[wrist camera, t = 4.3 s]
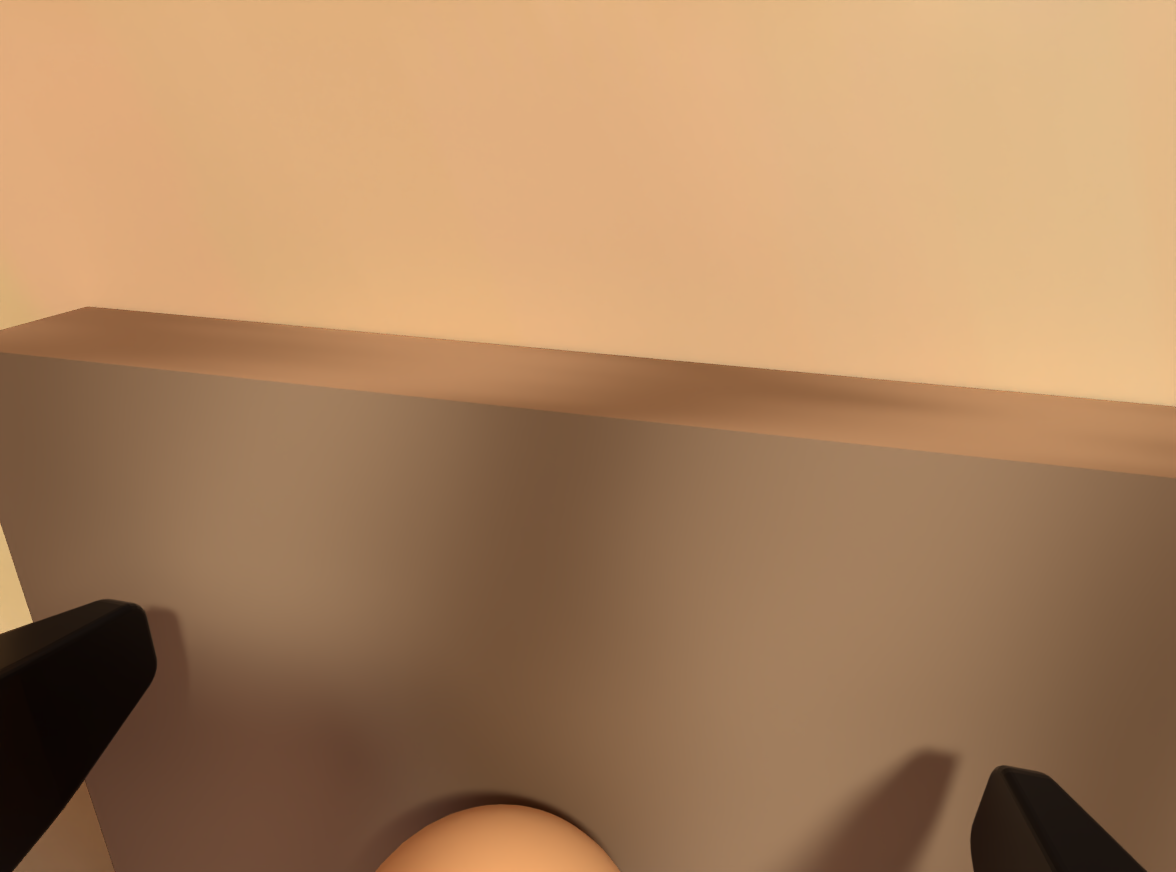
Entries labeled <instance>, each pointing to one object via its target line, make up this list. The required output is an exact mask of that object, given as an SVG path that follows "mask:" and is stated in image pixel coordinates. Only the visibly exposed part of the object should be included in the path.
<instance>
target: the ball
mask: <svg viewBox="0 0 1176 872" xmlns="http://www.w3.org/2000/svg"><path fill="white" fill-rule="evenodd" d="M375 872H621V871H620V870H619V869H618V867H617V866H616V865H615V863H614V862H613V861H612V860H611V858H610V857H609V856H608V854H607V853H606V852H605V851H604V850H603V849H602V848H601V847H600V846H599V845H598V844H597V843H596V842H595V841H594V840H592V839H591V838H590V837H589V836H588V835H586V834H585V833H584V832H583V831H581V830H580V829H578V828H577V827H575V826H574V825H573V824H571V823H569V822H567V821H566V820H564V819H562V818H560V817H558V816H556V815H553V814H551V813H548V812H545V811H542V810H539V809H535V808H531V807H526V806H520V805H505V804H497V805H484V806H478V807H473V808H469V809H466V810H462V811H459V812H455V813H452V814H450V815H448V816H446V817H443V818H441V819H439V820H437V821H435V822H433V823H431V824H429V825H427V826H426V827H424V828H423V829H421V830H420V831H418V832H417V833H416V834H414V835H413V836H412V837H410V838H409V839H407V840H406V841H405V842H403V843H402V844H401V845H400V846H399V847H398V848H397V849H396V850H395V851H394V852H393V853H392V854H391V855H390V856H389V857H388V858H387V859H386V860H385V861H384V862H383V863H382V864H381V865H380V866H379V867H378V869H377V870H376V871H375Z"/></svg>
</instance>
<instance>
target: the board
mask: <svg viewBox="0 0 1176 872" xmlns="http://www.w3.org/2000/svg"><path fill="white" fill-rule="evenodd" d="M0 523H1V526H2V529H3V532H4V535H5V538H6V541H7V544H8V547H9V550H10V553H11V556H12V559H13V562H14V565H15V569H16V572H17V575H18V578H19V581H20V584H21V587H22V590H23V593H24V596H25V599H26V602H27V605H28V608H29V611H30V614H31V617H32V620H33V622H36V621H39V620H42V619H45V618H48V617H51V616H54V615H57V614H60V613H62V612H65V611H68V610H71V609H74V608H77V607H80V606H83V605H86V604H88V603H91V602H94V601H97V600H101V599H115V600H120V601H126V602H131V603H136V604H138V605H140V606H141V607H142V608H143V609H144V610H145V612H146V615H147V618H148V623H149V627H150V631H151V635H152V639H153V644H154V648H155V652H156V656H157V670H156V674H155V677H154V679H153V681H152V683H151V685H150V686H149V688H148V689H147V691H146V692H145V693H144V695H143V696H142V698H141V699H140V701H139V702H138V703H137V705H136V706H135V708H134V709H133V711H132V712H131V714H130V715H129V716H128V718H127V719H126V721H125V722H124V724H123V725H122V726H121V728H120V729H119V731H118V732H117V734H116V735H115V737H114V738H113V739H112V741H111V742H110V744H109V745H108V747H107V748H106V749H105V751H104V752H103V754H102V755H101V757H100V758H99V760H98V761H97V762H96V764H95V765H94V767H93V768H92V770H91V771H90V772H89V774H88V775H87V777H86V778H85V782H86V785H87V788H88V791H89V794H90V797H91V800H92V803H93V806H94V809H95V812H96V815H97V818H98V821H99V824H100V827H101V830H102V833H103V836H104V839H105V843H106V846H107V849H108V852H109V855H110V858H111V861H112V864H113V867H114V870H115V872H375V871H376V870H377V869H378V867H379V866H380V865H381V864H382V863H383V862H384V861H385V860H386V859H387V858H388V857H389V856H390V855H391V854H392V853H393V852H394V851H395V850H396V849H397V848H398V847H399V846H400V845H401V844H402V843H403V842H405V841H406V840H407V839H409V838H410V837H412V836H413V835H414V834H416V833H417V832H418V831H420V830H421V829H423V828H424V827H426V826H427V825H429V824H431V823H433V822H435V821H437V820H439V819H441V818H443V817H446V816H448V815H450V814H452V813H455V812H459V811H462V810H466V809H469V808H473V807H478V806H484V805H497V804H505V805H520V806H526V807H531V808H535V809H539V810H542V811H545V812H548V813H551V814H553V815H556V816H558V817H560V818H562V819H564V820H566V821H567V822H569V823H571V824H573V825H574V826H575V827H577V828H578V829H580V830H581V831H583V832H584V833H585V834H586V835H588V836H589V837H590V838H591V839H592V840H594V841H595V842H596V843H597V844H598V845H599V846H600V847H601V848H602V849H603V850H604V851H605V852H606V853H607V854H608V856H609V857H610V858H611V860H612V861H613V862H614V863H615V865H616V866H617V867H618V869H619V870H620V871H621V872H974V871H973V865H972V858H971V850H970V834H971V828H972V824H973V821H974V818H975V815H976V812H977V810H978V807H979V804H980V801H981V799H982V796H983V793H984V790H985V788H986V785H987V782H988V779H989V777H990V775H991V773H992V771H993V770H994V769H995V768H996V767H997V766H1001V765H1008V766H1013V767H1018V768H1024V769H1029V770H1034V771H1039V772H1042V773H1045V774H1046V775H1048V776H1050V777H1051V778H1052V779H1053V780H1054V781H1056V782H1057V783H1058V784H1059V785H1060V786H1061V787H1062V788H1063V789H1064V790H1065V791H1066V792H1067V793H1068V794H1069V795H1070V796H1071V797H1072V798H1073V799H1074V800H1075V801H1076V802H1077V803H1078V804H1079V805H1080V806H1081V807H1082V808H1083V809H1084V810H1085V811H1086V812H1087V813H1088V814H1089V815H1090V816H1091V817H1092V818H1093V819H1094V820H1095V821H1097V822H1098V823H1099V824H1100V825H1101V826H1102V827H1103V828H1104V829H1105V830H1106V831H1107V832H1108V833H1109V834H1110V835H1111V836H1112V837H1113V838H1114V839H1115V840H1116V841H1117V842H1118V843H1119V844H1120V845H1121V846H1122V847H1123V848H1124V849H1125V850H1126V851H1127V852H1128V853H1129V854H1130V855H1131V856H1132V857H1133V858H1134V859H1135V860H1136V861H1137V862H1138V863H1139V864H1140V865H1141V866H1142V867H1144V868H1145V869H1146V870H1147V871H1148V872H1176V407H1172V406H1161V405H1150V404H1139V403H1129V402H1118V401H1107V400H1096V399H1085V398H1074V397H1063V396H1052V395H1042V394H1031V393H1020V392H1009V391H998V390H987V389H976V388H966V387H955V386H944V385H933V384H922V383H911V382H900V381H889V380H879V379H868V378H857V377H846V376H835V375H824V374H813V373H803V372H792V371H781V370H770V369H759V368H748V367H737V366H726V365H716V364H705V363H694V362H683V361H672V360H661V359H650V358H639V357H629V356H618V355H607V354H596V353H585V352H574V351H563V350H553V349H542V348H531V347H520V346H509V345H498V344H487V343H476V342H466V341H455V340H444V339H433V338H422V337H411V336H400V335H389V334H379V333H368V332H357V331H346V330H335V329H324V328H313V327H303V326H292V325H281V324H270V323H259V322H248V321H237V320H226V319H216V318H205V317H194V316H183V315H172V314H161V313H150V312H140V311H129V310H118V309H107V308H96V307H84V308H81V309H77V310H73V311H69V312H66V313H62V314H58V315H55V316H51V317H47V318H44V319H40V320H36V321H33V322H29V323H25V324H22V325H18V326H14V327H11V328H7V329H3V330H0Z"/></svg>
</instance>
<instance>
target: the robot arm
mask: <svg viewBox="0 0 1176 872" xmlns="http://www.w3.org/2000/svg"><path fill="white" fill-rule="evenodd" d="M156 670H157V656H156V652H155V648H154V644H153V639H152V635H151V631H150V627H149V623H148V618H147V615H146V612H145V610H144V609H143V608H142V607H141V606H140V605H138V604H136V603H131V602H126V601H120V600H115V599H101V600H97V601H94V602H91V603H88V604H86V605H83V606H80V607H77V608H74V609H71V610H68V611H65V612H62V613H60V614H57V615H54V616H51V617H48V618H45V619H42V620H39V621H36V622H33V623H31V624H28V625H25V626H22V627H19V628H16V629H13V630H10V631H7V632H5V633H2V634H0V872H13V870H14V869H15V868H16V867H17V866H18V864H19V863H20V862H21V861H22V859H23V858H24V857H25V856H26V855H27V853H28V852H29V851H30V850H31V849H32V847H33V846H34V845H35V844H36V842H37V841H38V840H39V839H40V838H41V836H42V835H43V834H44V833H45V832H46V830H47V829H48V828H49V827H50V825H51V824H52V823H53V821H54V820H55V819H56V818H57V816H58V815H59V814H60V813H61V811H62V810H63V809H64V808H65V806H66V805H67V803H68V802H69V801H70V799H71V798H72V796H73V795H74V794H75V792H76V791H77V790H78V788H79V787H80V785H81V784H82V783H83V781H84V780H85V778H86V777H87V775H88V774H89V772H90V771H91V770H92V768H93V767H94V765H95V764H96V762H97V761H98V760H99V758H100V757H101V755H102V754H103V752H104V751H105V749H106V748H107V747H108V745H109V744H110V742H111V741H112V739H113V738H114V737H115V735H116V734H117V732H118V731H119V729H120V728H121V726H122V725H123V724H124V722H125V721H126V719H127V718H128V716H129V715H130V714H131V712H132V711H133V709H134V708H135V706H136V705H137V703H138V702H139V701H140V699H141V698H142V696H143V695H144V693H145V692H146V691H147V689H148V688H149V686H150V685H151V683H152V681H153V679H154V677H155V674H156ZM970 850H971V858H972V865H973V871H974V872H1148V871H1147V870H1146V869H1145V868H1144V867H1142V866H1141V865H1140V864H1139V863H1138V862H1137V861H1136V860H1135V859H1134V858H1133V857H1132V856H1131V855H1130V854H1129V853H1128V852H1127V851H1126V850H1125V849H1124V848H1123V847H1122V846H1121V845H1120V844H1119V843H1118V842H1117V841H1116V840H1115V839H1114V838H1113V837H1112V836H1111V835H1110V834H1109V833H1108V832H1107V831H1106V830H1105V829H1104V828H1103V827H1102V826H1101V825H1100V824H1099V823H1098V822H1097V821H1095V820H1094V819H1093V818H1092V817H1091V816H1090V815H1089V814H1088V813H1087V812H1086V811H1085V810H1084V809H1083V808H1082V807H1081V806H1080V805H1079V804H1078V803H1077V802H1076V801H1075V800H1074V799H1073V798H1072V797H1071V796H1070V795H1069V794H1068V793H1067V792H1066V791H1065V790H1064V789H1063V788H1062V787H1061V786H1060V785H1059V784H1058V783H1057V782H1056V781H1054V780H1053V779H1052V778H1051V777H1050V776H1048V775H1046V774H1045V773H1042V772H1039V771H1034V770H1029V769H1024V768H1018V767H1013V766H1008V765H1001V766H997V767H996V768H995V769H994V770H993V771H992V773H991V775H990V777H989V779H988V782H987V785H986V788H985V790H984V793H983V796H982V799H981V801H980V804H979V807H978V810H977V812H976V815H975V818H974V821H973V824H972V828H971V834H970Z"/></svg>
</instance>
